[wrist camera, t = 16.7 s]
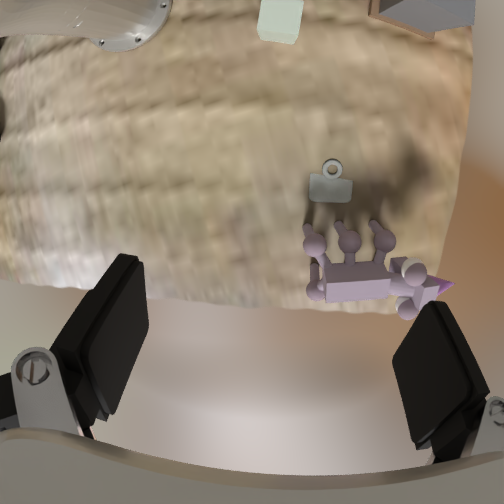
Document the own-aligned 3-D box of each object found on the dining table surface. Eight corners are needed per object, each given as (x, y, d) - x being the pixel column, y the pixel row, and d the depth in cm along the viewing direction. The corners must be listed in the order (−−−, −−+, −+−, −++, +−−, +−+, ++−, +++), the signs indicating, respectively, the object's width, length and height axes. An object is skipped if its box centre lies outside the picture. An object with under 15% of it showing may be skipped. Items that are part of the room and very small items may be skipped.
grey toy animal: (430, 208, 40) (473, 262, 29) (418, 266, 46) (449, 326, 35) (299, 213, 43) (308, 275, 31) (301, 274, 49) (307, 342, 37)
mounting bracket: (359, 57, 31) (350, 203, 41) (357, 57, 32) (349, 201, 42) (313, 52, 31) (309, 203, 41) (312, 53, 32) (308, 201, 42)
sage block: (260, 39, 31) (256, 29, 24) (265, 11, 29) (262, -6, 22) (293, 44, 31) (298, 35, 24) (298, 16, 29) (303, 1, 22)
